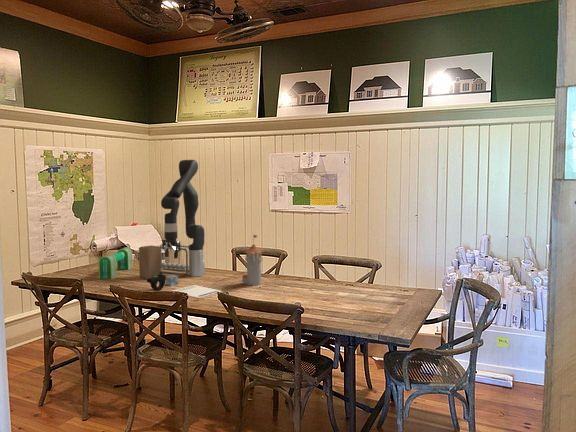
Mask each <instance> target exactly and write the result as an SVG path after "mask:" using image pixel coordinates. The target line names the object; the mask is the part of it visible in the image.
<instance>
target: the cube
mask: <svg viewBox="0 0 576 432" xmlns="http://www.w3.org/2000/svg"><path fill="white" fill-rule="evenodd" d="M165 285H166V286H169V287H173V286H177V285H179V276H178V275H174V274H173V275H168V276H167V275H166V281H165Z"/></svg>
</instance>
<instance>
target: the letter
mask: <svg viewBox="0 0 576 432" xmlns="http://www.w3.org/2000/svg"><path fill="white" fill-rule="evenodd" d="M171 291H179V292H185V293H187V294H188V295H187V296H189V297H192V298H196V299H200V298H205V297H207V296H211V295H214V294H218V293H217V292H219V293H222V292H223V291H222V290H219V289H216V288H215V289H214V288H210V287H206V286H201V285H196V284H193V285H188V286H185V287H181V288H176V289H173V290H171Z"/></svg>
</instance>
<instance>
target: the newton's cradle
mask: <svg viewBox="0 0 576 432" xmlns="http://www.w3.org/2000/svg"><path fill="white" fill-rule="evenodd" d="M158 246H159V247H160V255H161V272H163V273H162V274H170V275H171V274H173V275H179V276H181V275H182V276H187V275H188V274H189V251H188V250H189V245H181V244H180V249H181V251H184V252H185V258H183V257H182V255H181V251H179V252H178V255H180V256H181V259H182V262H181V263H182V264H180V263H179V260H177V261H176V262H177V263H175V262H172V263H171V262H170V258H168V260H167V261H168V263H166V262H165V260H166V259H163V250H162V243H161V244H160V245H158ZM164 247H165V245H164ZM178 249H179V248H178ZM172 251H173V249H172V248H169V252H170V254H173V252H172ZM171 258H172V260H174V258H173V257H171ZM184 259H185V264H184ZM162 261H163V262H162ZM165 269H166V270H165ZM164 270H165V271H164ZM175 271H176V272H175ZM184 271H186V272H184Z"/></svg>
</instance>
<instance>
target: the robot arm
mask: <svg viewBox="0 0 576 432" xmlns="http://www.w3.org/2000/svg"><path fill="white" fill-rule="evenodd" d="M198 170H199V163H198V162H197V160H196V159H182V160H180V161H179V162H178V172H179V176H180V178H178V179H177V180H176V181H175V182H174V183H173V184H172V186H171V188H170V190H169V191H168V192H167V193H165V195H164V196H163V197H162V199H161V202H160V206H161V208H162V209H164V210H170V212H166V213H165V214H164V226H163V228H164V229H163V230H164V231H163V232H164V239H162V240H161V241H162V243H161V244H162V248H161V250H163V251H164V258H170V249H169V248H172V249H171V250H172V251H173V257H174V258H173V259H174V260H175V259H176V260H177V259H179V251H180V252H182V250H181V249H180V248H181V247H180V245H181V241H180V240H178V241H177V239H178V221H177V220H178V217H177V216H178V212H179V208H180V200H179V199H180V197H183V205H184V215H185V218H184V219H185V234H186V237H187V238H188V239H192V243H191V244H189V245H188V246H189V249H188V270H189V272H188V274H189V277H203V276H205V275H206V273H205V271H206V270H205V269H206V266H205V265H206V264H205V259H204V246H205V228H204V226H202V225H199V224H196V213H197V211H198V209H199V205H200V204H199V196H198V192H197V190H196V189H195V188H194V187H193V185H192V183H191V180H192V179H193V178H194V176H195V175H196V174H197V172H198ZM164 245H165V246H164ZM178 248H179V249H178Z"/></svg>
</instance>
